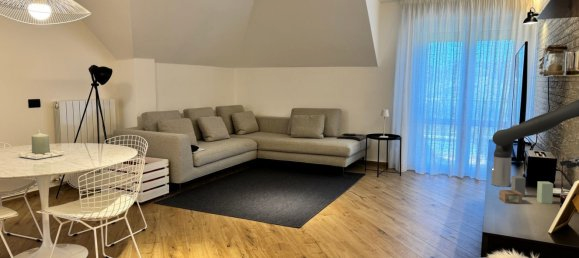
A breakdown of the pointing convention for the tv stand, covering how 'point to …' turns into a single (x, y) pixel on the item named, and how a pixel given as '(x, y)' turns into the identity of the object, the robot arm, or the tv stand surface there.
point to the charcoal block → (518, 184)
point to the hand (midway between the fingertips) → (563, 165)
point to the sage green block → (545, 192)
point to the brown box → (510, 196)
